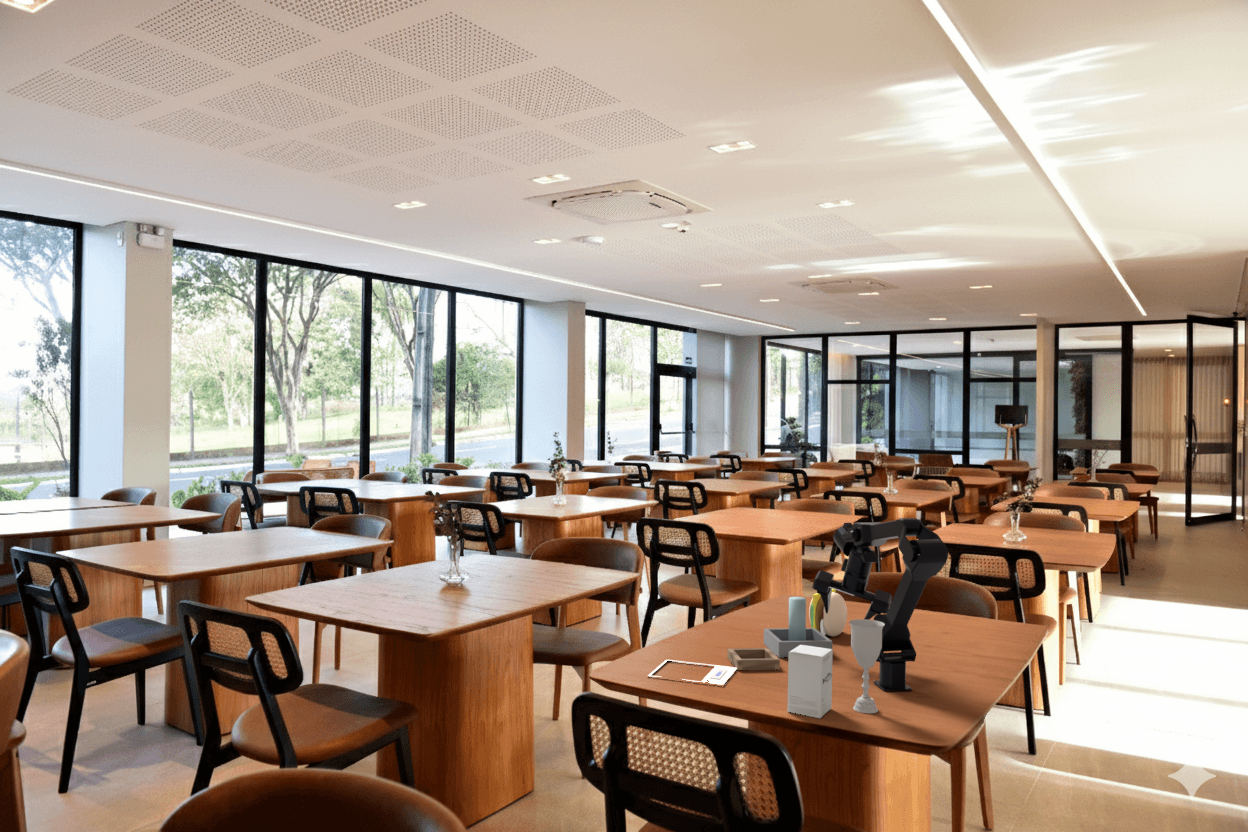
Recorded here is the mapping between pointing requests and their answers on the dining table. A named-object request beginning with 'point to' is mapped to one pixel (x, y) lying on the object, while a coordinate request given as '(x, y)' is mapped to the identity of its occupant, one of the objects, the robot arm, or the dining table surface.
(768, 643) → the bin
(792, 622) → the pale blue tapered cylinder
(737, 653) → the holder
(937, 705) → the dining table surface
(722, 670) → the photo frame
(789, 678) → the supplement box
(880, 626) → the chalice
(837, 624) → the hamburger
